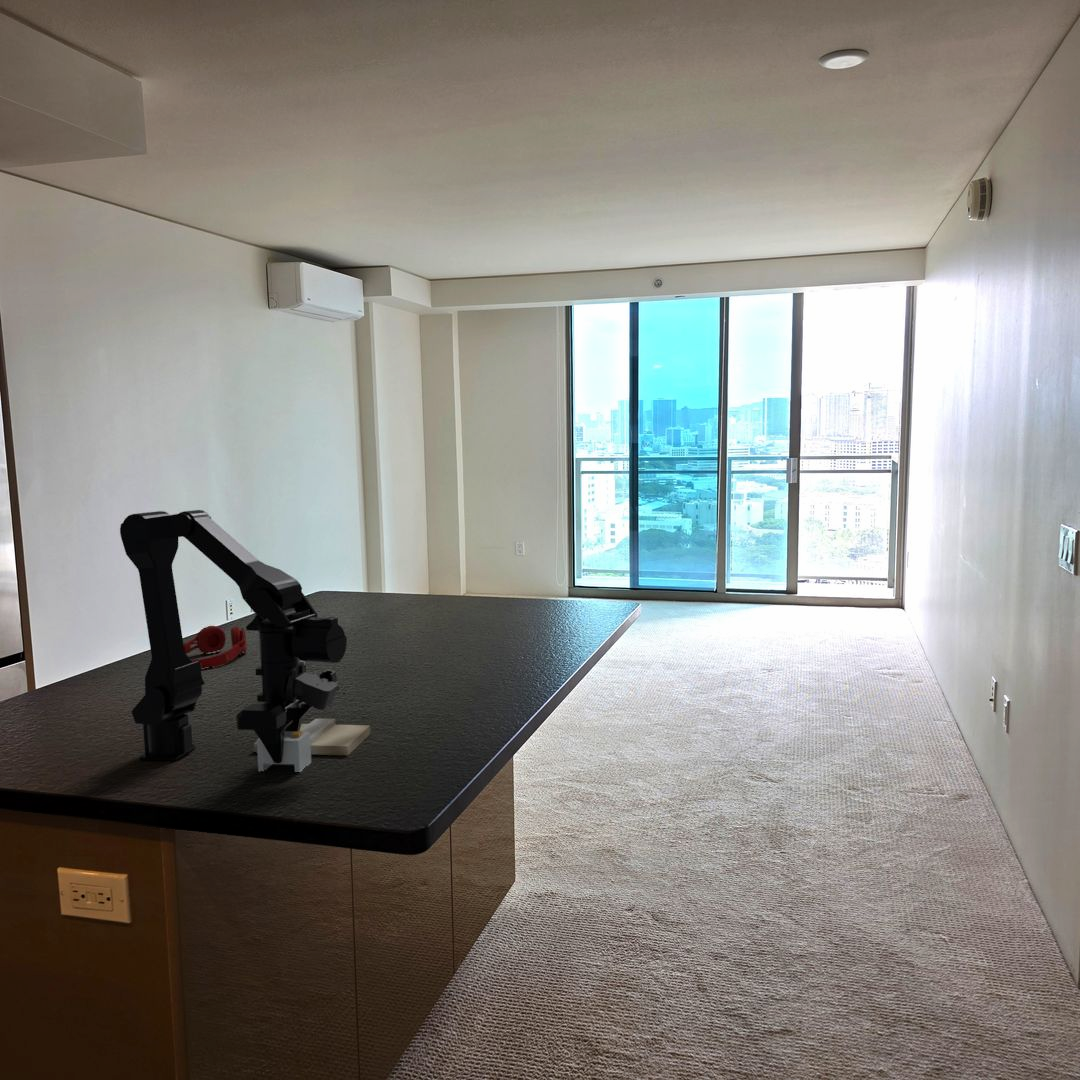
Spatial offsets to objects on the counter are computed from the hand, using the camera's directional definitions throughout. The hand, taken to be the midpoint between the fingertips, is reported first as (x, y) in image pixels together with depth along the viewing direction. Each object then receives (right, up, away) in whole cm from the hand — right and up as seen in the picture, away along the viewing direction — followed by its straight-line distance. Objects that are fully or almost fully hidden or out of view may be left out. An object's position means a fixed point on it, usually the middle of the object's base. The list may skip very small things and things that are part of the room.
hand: (284, 757), depth 141 cm
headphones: (-39, +5, +74) cm, 84 cm away
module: (0, -2, 0) cm, 2 cm away
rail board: (+2, 0, +11) cm, 12 cm away
